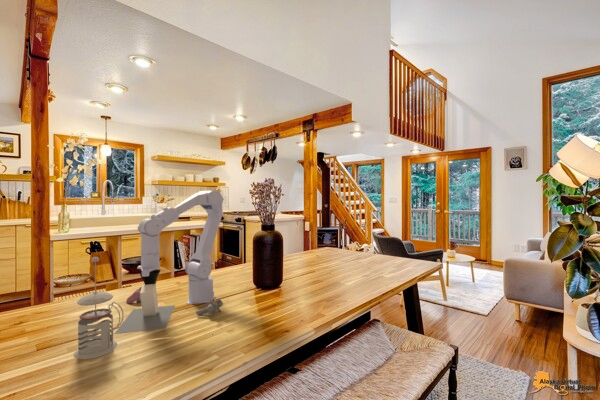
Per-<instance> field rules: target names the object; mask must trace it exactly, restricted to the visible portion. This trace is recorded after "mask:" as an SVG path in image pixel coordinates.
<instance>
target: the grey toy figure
mask: <svg viewBox="0 0 600 400" xmlns="http://www.w3.org/2000/svg"><path fill="white" fill-rule="evenodd" d="M213 302H214V303H213ZM213 302H212V301H211V300H210V302H209V303H210V304H207V307H204V308H201V309H199V310H195V314H196V316H197V317H198V316H199V317H200V316H203V315H205V314H208V318H210V317H211V315H212V314H214V313H215V312H217V311H218V312H219V313H222V311H221V309H220V307H222V306H223V304H224V302H223V301H222V299H221V298H216V297H215V298H213Z"/></svg>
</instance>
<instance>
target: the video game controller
mask: <svg viewBox="0 0 600 400" xmlns="http://www.w3.org/2000/svg"><path fill="white" fill-rule="evenodd" d="M141 288H142V286H140V287H139V288H138V289H136V290H135V291H134V292H133V293H132V294H131V295H130V296H128V297H127V299H126V301H125V302H126V304H132V303H135V302H138V303H140V302H141V297H140V291H141Z"/></svg>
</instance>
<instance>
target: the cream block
mask: <svg viewBox="0 0 600 400" xmlns="http://www.w3.org/2000/svg"><path fill="white" fill-rule="evenodd" d="M141 287H142V288H141V291H140V297H141V301H140V304H141V308H142V311H143V316H150V315H156V313H157V309H158V307H159V302H158V294H157V293H158V292H157V283H156V284H149V285H145V284H142V286H141Z"/></svg>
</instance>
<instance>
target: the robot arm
mask: <svg viewBox="0 0 600 400" xmlns="http://www.w3.org/2000/svg"><path fill="white" fill-rule="evenodd" d="M223 202H224V198H223V196H222V193H221V192H220V191H219V190H216V189H213V190H200V191H198V192H196V193H194V194H192V195H191V196H190V197H188V198H186V199H185V200H183V201H182V202H180V203H179V204H177V205H176V206H174V207H172V206H164V207H162V208H161V209H162V210H161V211H159V212H157V213H155V214H154V213H152V214H151V215H150V217H149V218H144V219H142V220H140V223H139V224H138V226H137V231H138V232H139V233H140V265H138V266H137V268H136V269H137V270H140V271H141V272H140V274H139V276H140V278H141V279H142V281H143V283H144V284H143V285H149V284H156V285H157V280H158V277H159V275H160V272H161V269H160V268H161V264H160V234H161V233H162V231H163V230H164V229H165V228H167V227H168V226H170V225H171V224H173V223H174V222H176V221H178V220H179V217H180V215H181V214H183V213H185V212H187V211H189V210H190V209H192V208H194V207H196V206H201V207H202V209H204V210H205V213H206V214H207V218H206V220H205V223H204V227H203V230H202V233H201V235H200V239H199V242H198V244H197V248H196V251H195V252H194V253H193V254H192V255H191V257H190V258H189V261H187V263H186V264H185V267H184V268H185V269H184V271H185V273H186V274H187V276H188V298H187V302H186V305H194V304H205V303H210V300H211V301H212V303H213V302H214V296H215V294H214V293H215V291H214V277H210V276H211V273H212V263H213V260H212V258H211V251H212V248H213V246H214V243H215V241H216V236H217V233H218V230H219V227H220V224H221V220H222V217H223V212H224V211H223V210H224V209H223Z"/></svg>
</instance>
